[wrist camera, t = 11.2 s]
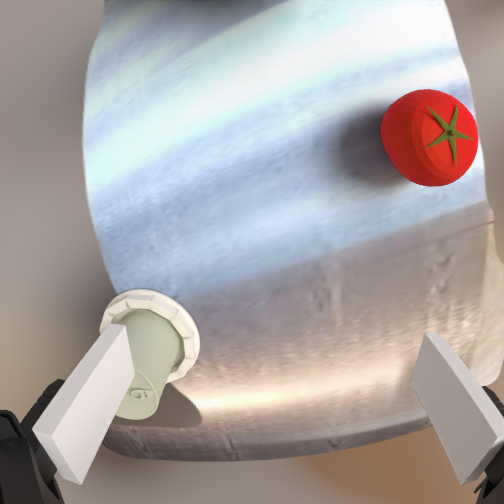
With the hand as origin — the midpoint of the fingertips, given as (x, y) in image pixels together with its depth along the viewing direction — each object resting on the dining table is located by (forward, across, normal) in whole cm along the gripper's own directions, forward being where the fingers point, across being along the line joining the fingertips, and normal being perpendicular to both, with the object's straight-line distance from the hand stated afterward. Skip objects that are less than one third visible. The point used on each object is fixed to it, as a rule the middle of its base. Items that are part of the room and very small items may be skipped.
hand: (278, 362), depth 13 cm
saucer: (+25, -16, -16) cm, 34 cm away
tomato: (+26, +17, +12) cm, 33 cm away
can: (+25, -16, -16) cm, 33 cm away
